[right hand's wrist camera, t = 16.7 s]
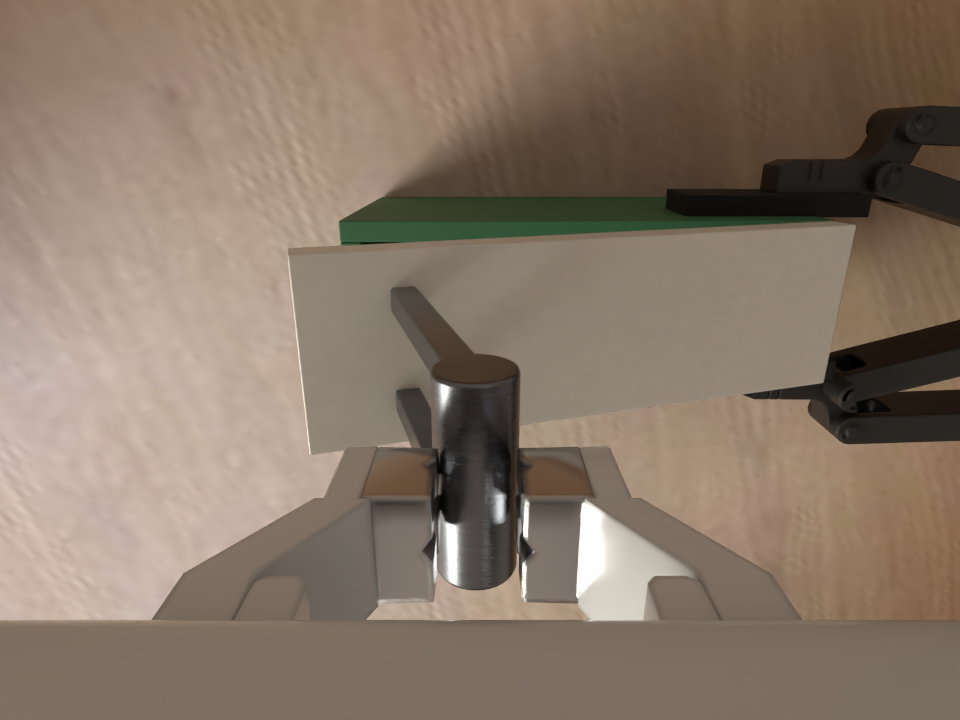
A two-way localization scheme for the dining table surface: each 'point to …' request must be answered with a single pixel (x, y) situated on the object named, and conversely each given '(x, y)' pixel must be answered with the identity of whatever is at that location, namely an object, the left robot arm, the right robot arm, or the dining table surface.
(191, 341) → the dining table surface
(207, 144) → the dining table surface
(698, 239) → the door
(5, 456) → the dining table surface
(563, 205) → the chest
